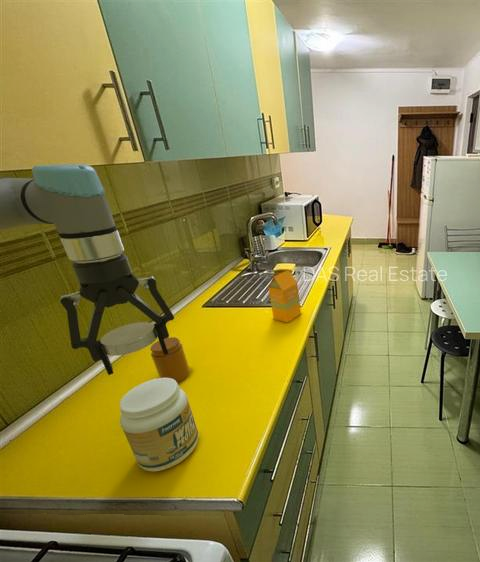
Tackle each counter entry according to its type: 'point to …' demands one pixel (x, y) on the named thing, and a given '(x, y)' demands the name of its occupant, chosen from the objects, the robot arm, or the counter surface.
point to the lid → (128, 338)
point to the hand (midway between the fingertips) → (139, 360)
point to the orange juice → (284, 297)
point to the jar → (170, 360)
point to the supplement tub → (158, 424)
